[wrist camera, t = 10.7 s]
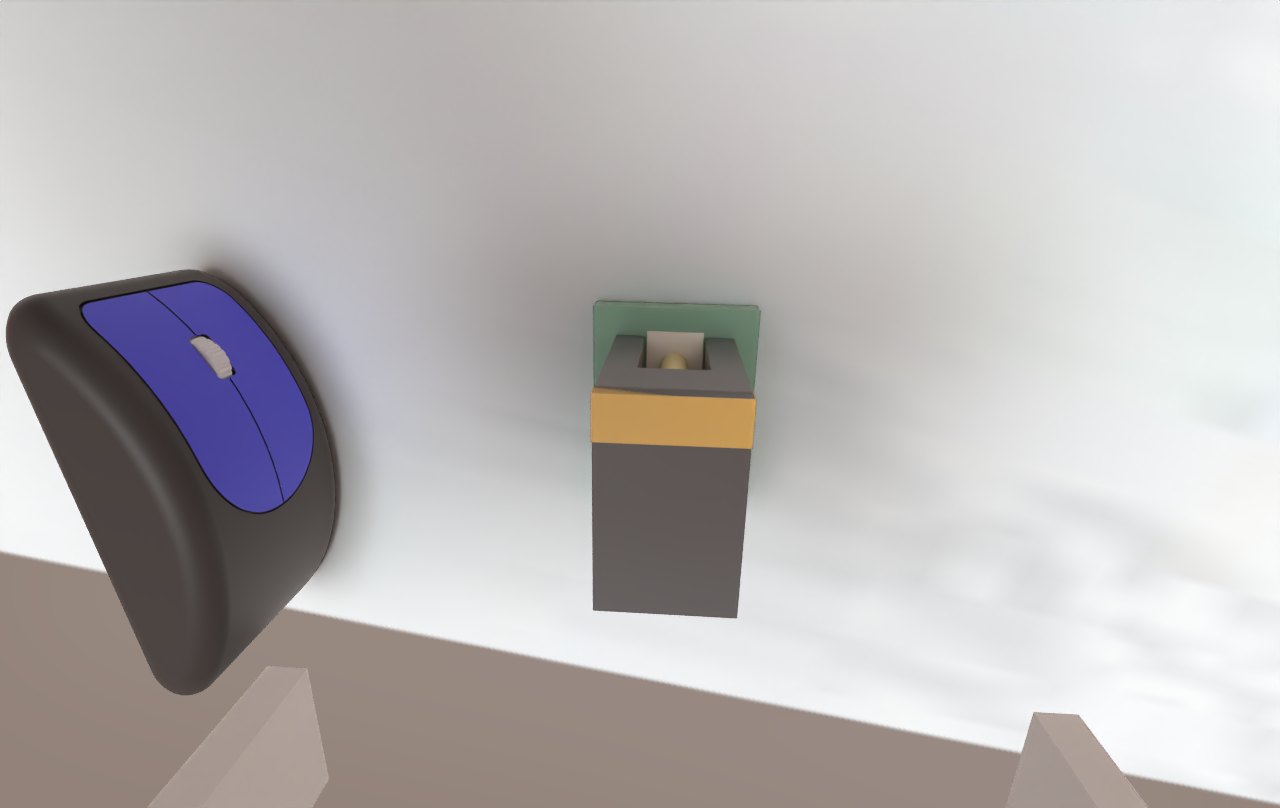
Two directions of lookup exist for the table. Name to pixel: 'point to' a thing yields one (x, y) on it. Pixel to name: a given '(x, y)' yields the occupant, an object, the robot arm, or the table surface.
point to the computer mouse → (181, 457)
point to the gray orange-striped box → (670, 481)
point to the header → (676, 332)
